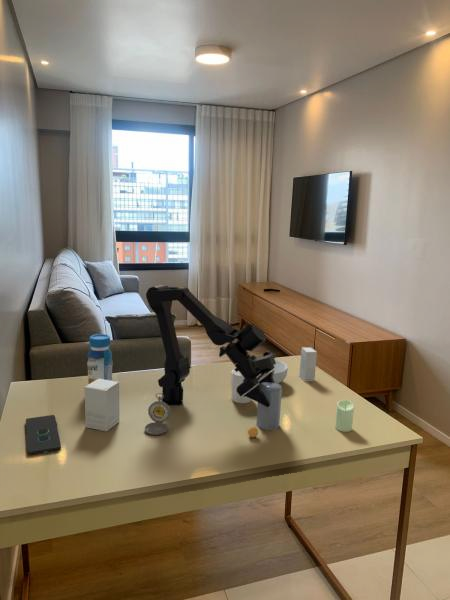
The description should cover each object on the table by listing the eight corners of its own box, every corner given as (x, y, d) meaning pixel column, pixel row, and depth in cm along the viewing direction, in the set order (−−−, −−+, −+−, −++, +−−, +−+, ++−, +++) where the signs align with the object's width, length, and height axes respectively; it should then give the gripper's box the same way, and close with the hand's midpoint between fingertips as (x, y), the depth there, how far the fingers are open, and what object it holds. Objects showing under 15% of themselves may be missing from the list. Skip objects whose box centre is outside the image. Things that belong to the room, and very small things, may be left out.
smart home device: (27, 451, 115) (25, 418, 132) (27, 458, 115) (25, 423, 133) (61, 446, 118) (55, 414, 136) (61, 452, 118) (55, 419, 136)
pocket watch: (148, 438, 127) (149, 404, 125) (139, 425, 134) (140, 393, 132) (176, 432, 131) (176, 400, 129) (166, 420, 138) (166, 389, 136)
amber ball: (248, 439, 128) (249, 429, 128) (246, 434, 131) (247, 424, 131) (259, 439, 129) (259, 429, 128) (256, 434, 132) (257, 424, 131)
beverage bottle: (116, 394, 155) (116, 338, 151) (92, 399, 150) (91, 341, 146) (107, 386, 162) (107, 332, 158) (84, 390, 157) (83, 334, 153)
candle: (350, 433, 135) (353, 407, 133) (333, 430, 137) (336, 404, 135) (352, 426, 140) (355, 401, 138) (335, 423, 141) (338, 398, 140)
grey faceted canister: (274, 431, 134) (277, 392, 131) (253, 426, 136) (256, 387, 134) (281, 422, 140) (284, 384, 137) (261, 418, 142) (263, 380, 140)
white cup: (251, 405, 151) (252, 377, 149) (228, 402, 153) (229, 374, 151) (254, 396, 159) (256, 369, 157) (232, 393, 160) (233, 366, 158)
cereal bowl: (244, 372, 181) (245, 356, 180) (286, 376, 179) (287, 359, 178) (240, 388, 165) (241, 370, 164) (286, 393, 163) (287, 374, 162)
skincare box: (314, 381, 176) (317, 351, 173) (304, 381, 175) (307, 352, 173) (308, 375, 182) (311, 347, 179) (298, 376, 181) (301, 347, 178)
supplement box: (120, 421, 136) (120, 381, 133) (106, 432, 129) (106, 390, 126) (99, 416, 138) (98, 377, 136) (84, 427, 131) (83, 386, 129)
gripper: (249, 352, 126) (284, 398, 124) (270, 337, 143) (301, 377, 141) (222, 374, 131) (255, 418, 129) (246, 356, 148) (275, 395, 146)
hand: (273, 400), depth 136 cm, fingers open, 8 cm apart
